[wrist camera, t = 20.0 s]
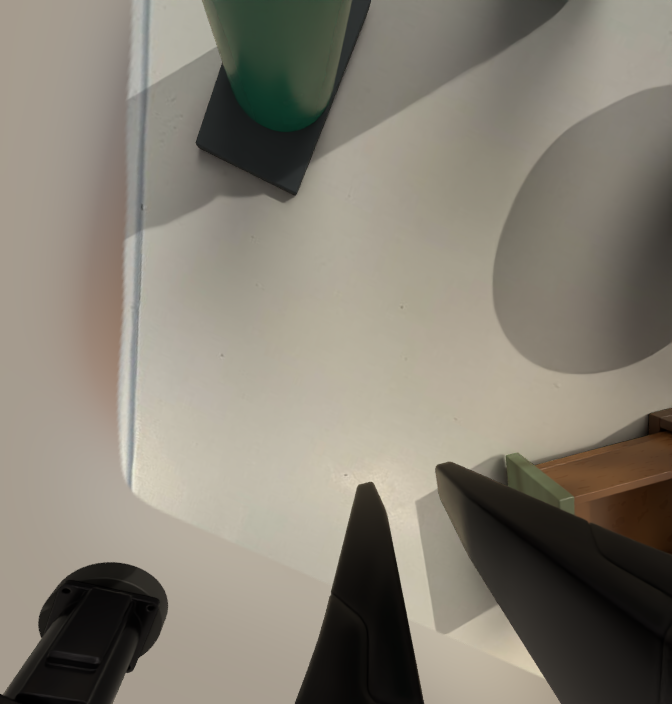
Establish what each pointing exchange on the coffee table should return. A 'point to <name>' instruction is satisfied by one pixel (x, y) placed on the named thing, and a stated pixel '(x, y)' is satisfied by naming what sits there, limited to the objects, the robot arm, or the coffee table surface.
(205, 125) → the mat
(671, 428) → the cabinet
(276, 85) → the can
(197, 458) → the coffee table surface
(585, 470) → the drawer
